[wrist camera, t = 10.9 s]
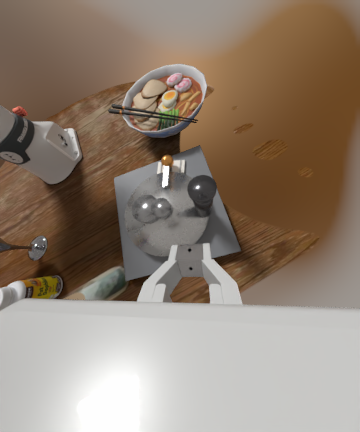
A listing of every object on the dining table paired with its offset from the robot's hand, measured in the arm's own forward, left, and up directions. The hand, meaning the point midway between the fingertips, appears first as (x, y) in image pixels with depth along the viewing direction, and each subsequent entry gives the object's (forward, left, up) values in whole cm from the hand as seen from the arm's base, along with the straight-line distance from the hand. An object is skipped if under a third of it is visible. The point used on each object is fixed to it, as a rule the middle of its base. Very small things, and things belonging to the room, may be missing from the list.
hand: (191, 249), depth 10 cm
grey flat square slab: (-11, -5, -19) cm, 23 cm away
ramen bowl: (-39, +2, -19) cm, 44 cm away
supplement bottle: (-1, -39, -19) cm, 44 cm away
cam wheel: (-12, -4, -17) cm, 21 cm away
